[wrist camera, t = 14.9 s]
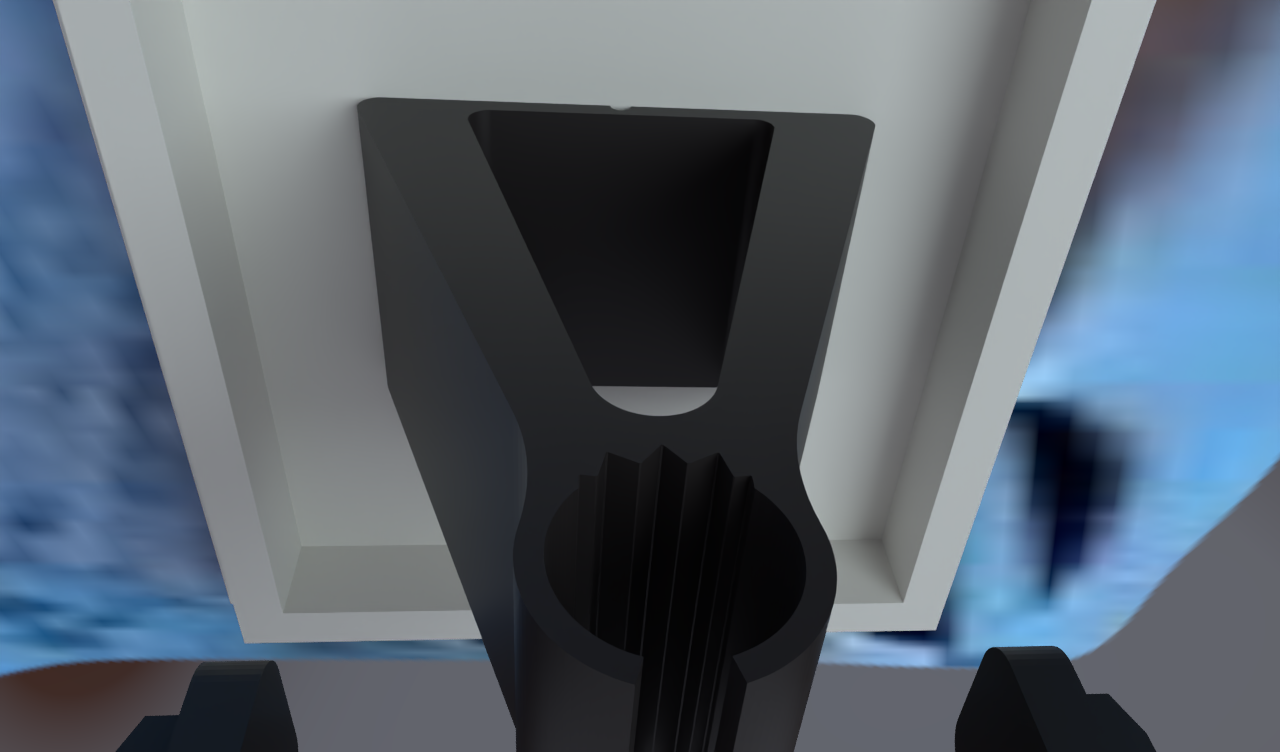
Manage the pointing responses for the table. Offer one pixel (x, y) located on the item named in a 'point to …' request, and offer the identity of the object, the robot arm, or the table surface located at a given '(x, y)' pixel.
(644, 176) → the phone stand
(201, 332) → the shallow square tray
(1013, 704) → the robot arm
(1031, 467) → the table surface
